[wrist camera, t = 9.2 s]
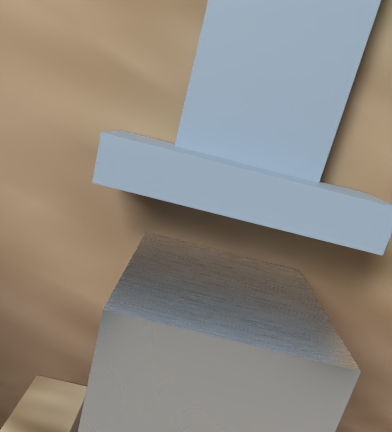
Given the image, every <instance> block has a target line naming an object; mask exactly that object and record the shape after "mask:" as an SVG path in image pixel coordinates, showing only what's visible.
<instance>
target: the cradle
mask: <svg viewBox="0 0 392 432" xmlns="http://www.w3.org/2000/svg"><path fill="white" fill-rule="evenodd" d="M380 2H381V0H208V4H207V8H206V12H205V17H204V21H203V25H202V30H201V34H200V38H199V42H198V47H197V51H196V55H195V60H194V64H193V68H192V73H191V77H190V81H189V85H188V90H187V94H186V98H185V103H184V107H183V111H182V116H181V120H180V124H179V129H178V133H177V137H176V141H175V144H173V143H169V142H165V141H161V140H157V139H153V138H150V137H146V136H142V135H138V134H134V133H130V132H126V131H122V130H117V131H107V132H101V136H100V141H99V147H98V153H97V158H96V164H95V169H94V175H93V180H92V183H95V184H99V185H103V186H107V187H111V188H115V189H119V190H123V191H127V192H131V193H135V194H139V195H143V196H147V197H151V198H155V199H159V200H163V201H167V202H171V203H175V204H179V205H183V206H187V207H191V208H195V209H199V210H203V211H207V212H211V213H215V214H219V215H223V216H227V217H231V218H235V219H239V220H243V221H247V222H251V223H255V224H259V225H263V226H267V227H271V228H275V229H279V230H283V231H287V232H291V233H295V234H298V235H302V236H306V237H310V238H314V239H318V240H322V241H326V242H330V243H334V244H338V245H342V246H346V247H350V248H354V249H358V250H362V251H366V252H370V253H374V254H378V255H382V256H383V254H384V251H385V249H386V246H387V244H388V241H389V239H390V236H391V234H392V205H391V204H389V203H387V202H385V201H383V200H380V199H378V198H376V197H374V196H371V195H369V194H367V193H364V192H360V191H356V190H352V189H348V188H344V187H340V186H337V185H333V184H329V183H325V182H321V181H320V178H321V175H322V173H323V170H324V167H325V164H326V161H327V158H328V155H329V152H330V149H331V146H332V143H333V140H334V137H335V134H336V131H337V128H338V126H339V123H340V120H341V117H342V114H343V111H344V108H345V105H346V102H347V99H348V96H349V93H350V90H351V87H352V84H353V81H354V79H355V76H356V73H357V70H358V67H359V64H360V61H361V58H362V55H363V52H364V49H365V46H366V43H367V40H368V37H369V34H370V31H371V29H372V26H373V23H374V20H375V17H376V14H377V11H378V8H379V5H380Z"/></svg>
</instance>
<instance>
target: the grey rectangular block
mask: <svg viewBox="0 0 392 432" xmlns="http://www.w3.org/2000/svg"><path fill="white" fill-rule="evenodd" d="M360 373H361V370H360V369H359V367H358V366H357V364H356V362H355V361H354V359H353V358H352V356H351V354H350V353H349V351H348V349H347V348H346V346H345V345H344V343H343V341H342V340H341V338H340V336H339V335H338V333H337V332H336V330H335V328H334V327H333V325H332V324H331V322H330V320H329V319H328V317H327V315H326V314H325V312H324V311H323V309H322V307H321V306H320V304H319V302H318V301H317V299H316V298H315V296H314V294H313V293H312V291H311V289H310V288H309V286H308V285H307V283H306V281H305V280H304V278H303V277H302V275H301V273H300V272H299V270H296V269H292V268H288V267H284V266H280V265H276V264H272V263H268V262H264V261H260V260H256V259H252V258H248V257H244V256H240V255H236V254H232V253H228V252H224V251H220V250H215V249H211V248H207V247H203V246H199V245H195V244H191V243H187V242H183V241H179V240H175V239H171V238H167V237H163V236H159V235H155V234H151V233H147V232H146V233H145V234H144V236H143V238H142V240H141V242H140V243H139V245H138V247H137V249H136V251H135V253H134V254H133V256H132V258H131V260H130V262H129V263H128V265H127V267H126V269H125V271H124V272H123V274H122V276H121V278H120V280H119V282H118V283H117V285H116V287H115V289H114V291H113V292H112V294H111V296H110V298H109V300H108V301H107V303H106V305H105V307H104V309H103V312H102V317H101V322H100V327H99V332H98V336H97V341H96V346H95V351H94V356H93V361H92V365H91V370H90V375H89V380H88V385H87V389H86V394H85V399H84V404H83V409H82V414H81V418H80V423H79V428H78V432H335V431H336V429H337V426H338V424H339V422H340V419H341V417H342V415H343V412H344V410H345V408H346V405H347V403H348V401H349V398H350V396H351V394H352V391H353V389H354V387H355V384H356V382H357V380H358V377H359V375H360Z"/></svg>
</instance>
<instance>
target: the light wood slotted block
mask: <svg viewBox="0 0 392 432" xmlns="http://www.w3.org/2000/svg"><path fill="white" fill-rule="evenodd" d="M86 389H87V386H82V385H78V384H74V383H69V382H65V381H61V380H56V379H52V378H48V377H43V376H39V375H37V376H36V377H35V379H34V380H33V382H32V383H31V385H30V386H29V388H28V389H27V391H26V392H25V394H24V395H23V397H22V398H21V400H20V401H19V403H18V404H17V406H16V407H15V409H14V410H13V412H12V413H11V415H10V416H9V418H8V419H7V421H6V422H5V424H4V425H3V427H2V428H1V430H0V432H78V428H79V423H80V418H81V414H82V409H83V404H84V399H85V394H86Z"/></svg>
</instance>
